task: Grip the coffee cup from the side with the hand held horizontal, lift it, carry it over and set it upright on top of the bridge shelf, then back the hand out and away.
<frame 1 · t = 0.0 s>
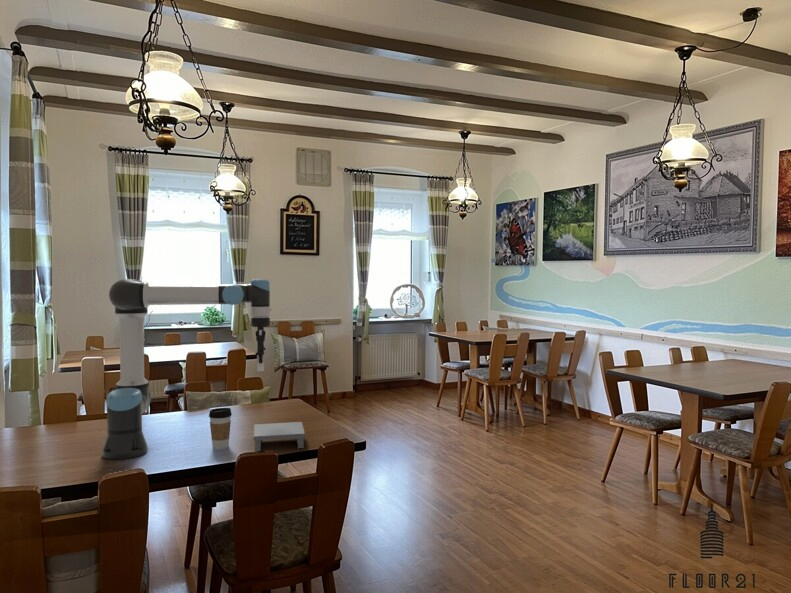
hand: (260, 368, 238), 28 cm above the table, tool pointing down, fingers open, 13 cm apart
coffee cup: (220, 448, 222), on the table
bridge shelf: (278, 443, 227), on the table
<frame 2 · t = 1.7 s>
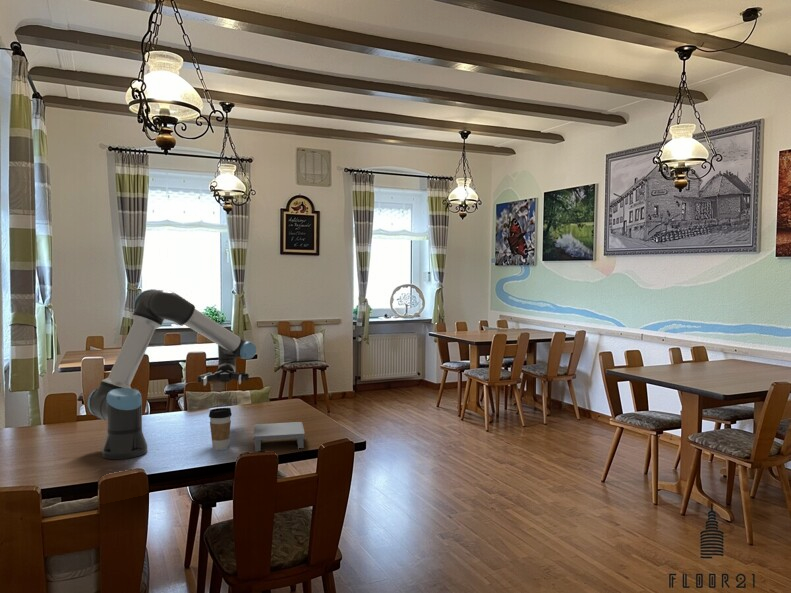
hand: (222, 381, 232), 24 cm above the table, tool horizontal, fingers open, 13 cm apart
nothing on the table moved.
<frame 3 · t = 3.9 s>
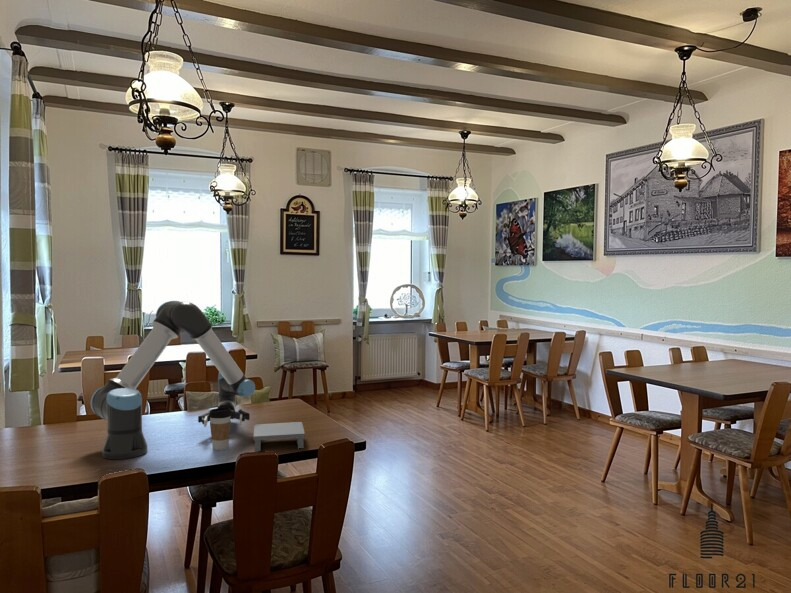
hand: (223, 422, 229), 8 cm above the table, tool horizontal, fingers open, 13 cm apart
nothing on the table moved.
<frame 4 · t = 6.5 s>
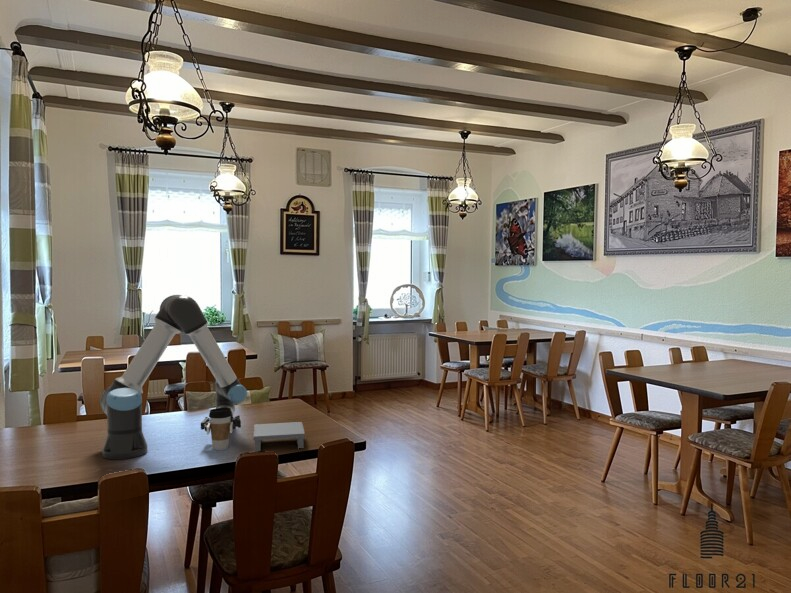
hand: (219, 430, 217), 8 cm above the table, tool horizontal, fingers closed on coffee cup, 8 cm apart
coffee cup: (220, 448, 222), on the table, touching gripper
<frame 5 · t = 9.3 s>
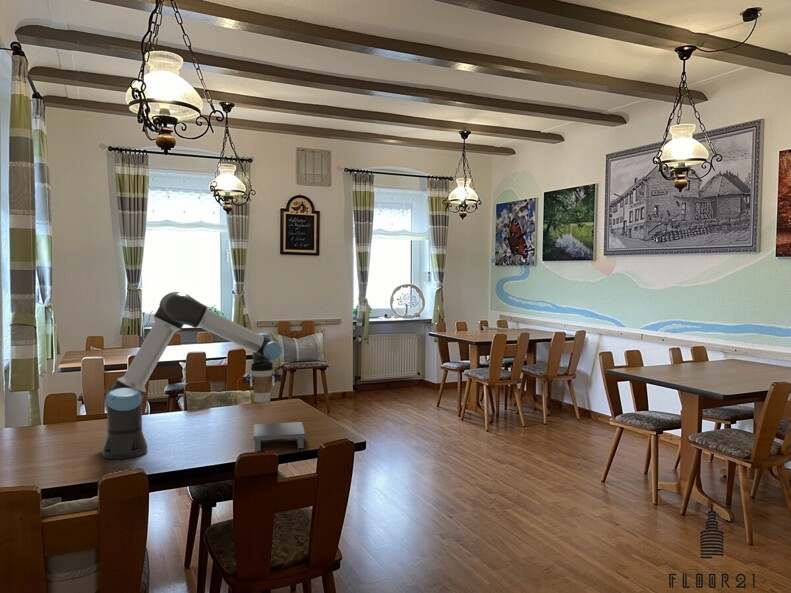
hand: (262, 382, 221), 25 cm above the table, tool horizontal, fingers closed on coffee cup, 8 cm apart
coffee cup: (262, 401, 226), point 17 cm above the table, touching gripper
when the fingers open (15 cm above the table, at t = 12.2 s): coffee cup drops 1 cm, resting on bridge shelf.
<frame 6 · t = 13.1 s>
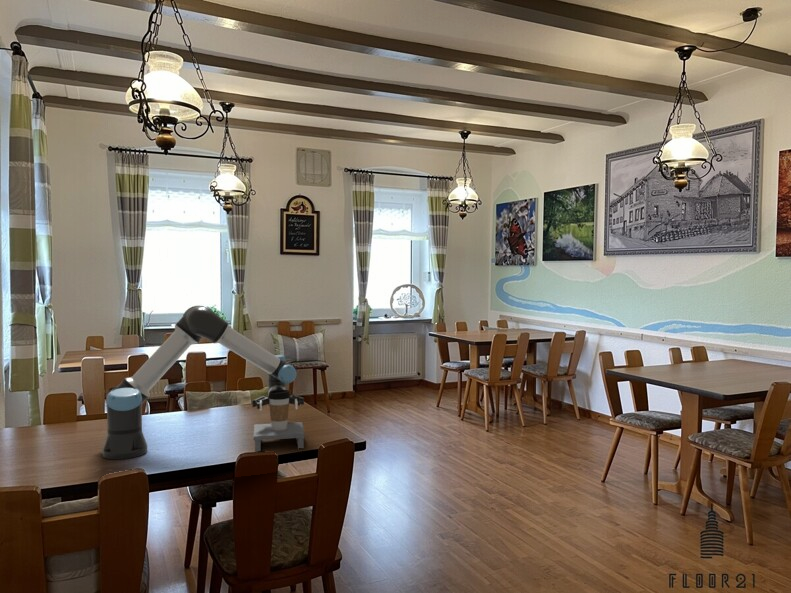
hand: (278, 406, 223), 15 cm above the table, tool horizontal, fingers open, 13 cm apart
coffee cup: (279, 429, 227), point 6 cm above the table, touching bridge shelf
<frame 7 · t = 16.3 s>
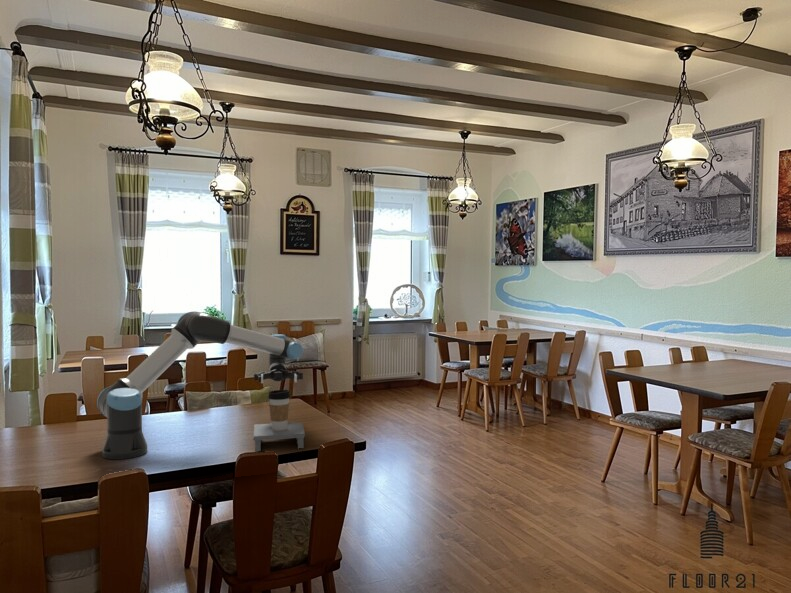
hand: (279, 379, 236), 24 cm above the table, tool horizontal, fingers open, 13 cm apart
nothing on the table moved.
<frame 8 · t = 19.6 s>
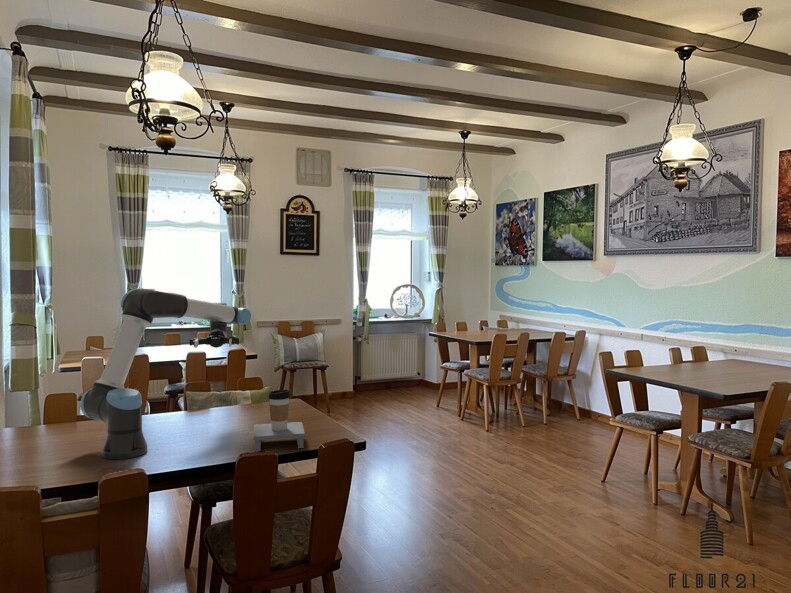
hand: (212, 343, 238), 38 cm above the table, tool horizontal, fingers open, 13 cm apart
nothing on the table moved.
at the end: coffee cup inside the target area on the bridge shelf (0.2 cm from its centre), point 5.8 cm above the bridge shelf's base; coffee cup tilted 0°; the gripper is holding nothing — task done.
